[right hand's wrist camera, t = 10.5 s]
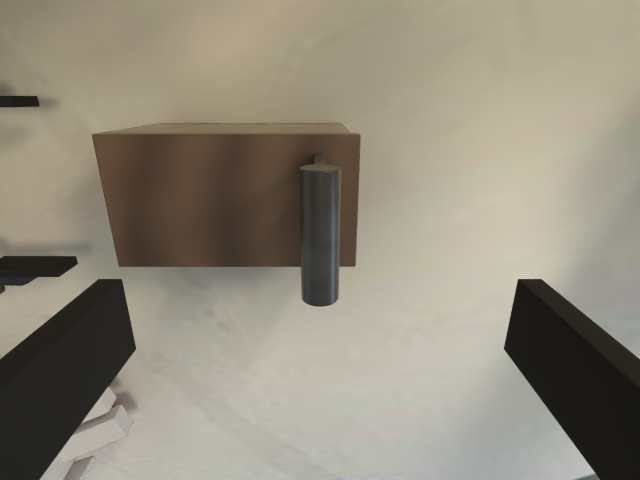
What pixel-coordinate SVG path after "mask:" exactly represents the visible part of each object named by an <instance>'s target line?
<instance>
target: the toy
mask: <svg viewBox="0 0 640 480" xmlns="http://www.w3.org/2000/svg"><path fill="white" fill-rule="evenodd" d="M115 400H116V396H115V395H114V394H113V392H112V391H111V389H110V388H109V387H108V388H107V389H106V390H105V392H104V393H103V394H102V396H101V397H100V398H99V400H98V401H97V402H96V404H95V405H94V407H93V408H92V409H91V411H90V412H89V413H88V415H87V416H86V417H85V419H84V420H83V422H82V423H81V424H80V426H79V427H78V428H77V430H76V431H75V432H74V434H73V435H72V436H71V438H70V439H69V441H68V442H67V443H66V445H65V446H64V447H63V449H62V450H61V451H60V453H59V454H58V455H57V457H56V458H55V460H54V461H53V462H52V464H51V465H50V466H49V468H48V469H47V470H46V472H45V473H44V474H43V476H42V477H41V479H40V480H84V479H85V477H86V475H87V473H88V472H89V470H90V468H91V466H92V465H93V463H94V461H95V457H94V456H91V457H88V458H84V459H81V460H78V461H75V462H74V460H75V459H76V457H78V456H80V455H83V454H85V453H88V452H90V451H92V450H95V449H97V448H100V447H102V446H104V445H107V444H109V443H112V442H114V441H116V440H119V439H121V438H124V437H126V436H127V435H128V433H129V430H130V428H131V426H132V424H133V422H134V421H133V420H132V419H131V417H130V416H129V414H128V413H127V412H126V410H125V409H124V407H123V406H122V405H118V406H116V407H114V406H113V404H114V402H115Z"/></svg>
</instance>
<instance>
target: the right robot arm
mask: <svg viewBox="0 0 640 480" xmlns="http://www.w3.org/2000/svg"><path fill="white" fill-rule="evenodd" d="M135 350H136V346H135V341H134V336H133V331H132V326H131V322H130V317H129V312H128V307H127V302H126V297H125V292H124V287H123V282H122V279H98V280H97V281H96V282H95V283H93V284H92V285H91V286H90V287H89V288H87V289H86V290H85V291H84V292H82V293H81V294H80V295H79V296H77V297H76V298H75V299H74V300H73V301H71V302H70V303H69V304H68V305H66V306H65V307H64V308H63V309H62V310H60V311H59V312H58V313H57V314H55V315H54V316H53V317H52V318H50V319H49V320H48V321H47V322H46V323H44V324H43V325H42V326H41V327H39V328H38V329H37V330H36V331H34V332H33V333H32V334H31V335H30V336H28V337H27V338H26V339H25V340H23V341H22V342H21V343H20V344H19V345H17V346H16V347H15V348H14V349H12V350H11V351H10V352H9V353H7V354H6V355H5V356H4V357H3V358H1V359H0V480H40V479H41V477H42V476H43V474H44V473H45V472H46V470H47V469H48V468H49V466H50V465H51V464H52V462H53V461H54V460H55V458H56V457H57V455H58V454H59V453H60V451H61V450H62V449H63V447H64V446H65V445H66V443H67V442H68V441H69V439H70V438H71V436H72V435H73V434H74V432H75V431H76V430H77V428H78V427H79V426H80V424H81V423H82V422H83V420H84V419H85V417H86V416H87V415H88V413H89V412H90V411H91V409H92V408H93V407H94V405H95V404H96V402H97V401H98V400H99V398H100V397H101V396H102V394H103V393H104V392H105V390H106V389H107V388H108V386H109V385H110V383H111V382H112V381H113V379H114V378H115V377H116V375H117V374H118V373H119V371H120V370H121V369H122V367H123V366H124V364H125V363H126V362H127V360H128V359H129V358H130V356H131V355H132V354H133V352H134V351H135ZM504 350H505V351H506V352H507V354H508V355H509V356H510V358H511V359H512V360H513V362H514V363H515V364H516V366H517V367H518V369H519V370H520V371H521V373H522V374H523V375H524V377H525V378H526V379H527V381H528V382H529V384H530V385H531V386H532V388H533V389H534V390H535V392H536V393H537V394H538V396H539V397H540V398H541V400H542V401H543V403H544V404H545V405H546V407H547V408H548V409H549V411H550V412H551V413H552V415H553V416H554V417H555V419H556V420H557V422H558V423H559V424H560V426H561V427H562V428H563V430H564V431H565V432H566V434H567V435H568V436H569V438H570V439H571V441H572V442H573V443H574V445H575V446H576V447H577V449H578V450H579V451H580V453H581V454H582V455H583V457H584V458H585V460H586V461H587V462H588V464H589V465H590V466H591V468H592V469H593V470H594V472H595V473H596V474H597V476H598V477H599V479H600V480H640V359H639V358H637V357H636V356H635V355H634V354H633V353H631V352H630V351H629V350H628V349H626V348H625V347H624V346H623V345H621V344H620V343H619V342H618V341H617V340H615V339H614V338H613V337H612V336H610V335H609V334H608V333H607V332H606V331H604V330H603V329H602V328H601V327H599V326H598V325H597V324H596V323H594V322H593V321H592V320H591V319H590V318H588V317H587V316H586V315H585V314H583V313H582V312H581V311H580V310H578V309H577V308H576V307H575V306H574V305H572V304H571V303H570V302H569V301H567V300H566V299H565V298H564V297H563V296H561V295H560V294H559V293H558V292H556V291H555V290H554V289H553V288H551V287H550V286H549V285H548V284H547V283H545V282H544V281H543V280H542V279H518V282H517V287H516V292H515V297H514V302H513V307H512V312H511V317H510V322H509V326H508V331H507V336H506V341H505V346H504Z"/></svg>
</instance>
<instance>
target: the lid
mask: <svg viewBox="0 0 640 480" xmlns="http://www.w3.org/2000/svg"><path fill="white" fill-rule="evenodd" d="M92 138H93V143H94V148H95V152H96V157H97V162H98V167H99V172H100V177H101V182H102V187H103V191H104V196H105V201H106V206H107V211H108V216H109V221H110V226H111V231H112V235H113V240H114V245H115V250H116V255H117V260H118V265H119V267H301V287H302V299H303V301H304V302H305V303H307V304H309V305H312V306H328V305H331V304H334V303H335V302H336V301H337V300H338V297H339V267H355V266H356V244H357V217H358V189H359V162H360V134H359V133H97V134H92Z"/></svg>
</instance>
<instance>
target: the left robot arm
mask: <svg viewBox="0 0 640 480" xmlns="http://www.w3.org/2000/svg"><path fill="white" fill-rule="evenodd" d="M37 106H39V102H38V98H37V96H0V107H37ZM77 264H78V262H77V258H76V256H4V257H2V258H0V294H1V293H3V292H4V291H5V287H4V285H14V286H15V285H16V286H22V285H25V284H27V283H29V282H31V281H32V280H34V279H35V278H37V277H59V276H61V275H62V274H64V273H65V272H67V271H68V270H70V269H71V268H73V267H74V266H75V265H77Z"/></svg>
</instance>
